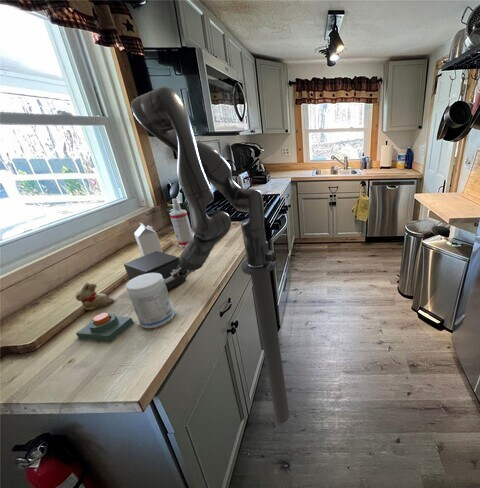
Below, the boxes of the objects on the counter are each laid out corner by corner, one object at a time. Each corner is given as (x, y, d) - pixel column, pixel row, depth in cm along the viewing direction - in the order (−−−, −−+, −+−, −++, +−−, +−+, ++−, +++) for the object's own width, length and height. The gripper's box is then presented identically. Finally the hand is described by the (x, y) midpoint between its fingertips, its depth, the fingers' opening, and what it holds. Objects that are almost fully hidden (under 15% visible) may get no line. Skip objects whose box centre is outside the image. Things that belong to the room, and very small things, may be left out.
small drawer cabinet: (185, 280, 104) (179, 257, 100) (154, 297, 94) (145, 271, 90) (164, 273, 111) (156, 250, 107) (132, 287, 101) (123, 263, 97)
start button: (113, 317, 79) (111, 313, 78) (102, 325, 75) (100, 321, 75) (103, 316, 79) (100, 312, 78) (91, 324, 76) (89, 320, 75)
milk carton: (148, 268, 116) (135, 228, 108) (144, 263, 120) (130, 224, 113) (166, 262, 120) (154, 223, 113) (161, 258, 125) (149, 220, 117)
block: (133, 323, 82) (129, 312, 80) (111, 341, 74) (106, 330, 73) (103, 320, 83) (98, 310, 82) (78, 338, 76) (72, 328, 74)
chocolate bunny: (92, 301, 93) (81, 277, 89) (115, 300, 94) (105, 276, 90) (80, 311, 88) (67, 286, 84) (104, 309, 88) (93, 284, 84)
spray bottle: (178, 248, 136) (164, 201, 126) (179, 243, 142) (166, 198, 132) (194, 245, 138) (182, 199, 128) (194, 240, 145) (183, 196, 135)
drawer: (192, 282, 101) (187, 262, 98) (164, 298, 92) (157, 276, 89) (165, 273, 109) (159, 254, 106) (136, 286, 100) (129, 266, 96)
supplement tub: (139, 318, 83) (123, 279, 78) (171, 306, 89) (159, 268, 83) (143, 334, 77) (126, 293, 71) (178, 320, 82) (165, 280, 76)
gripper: (205, 238, 90) (191, 262, 100) (169, 253, 79) (157, 278, 89) (219, 254, 89) (203, 277, 100) (184, 271, 79) (170, 295, 89)
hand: (181, 278), depth 95 cm, fingers closed
